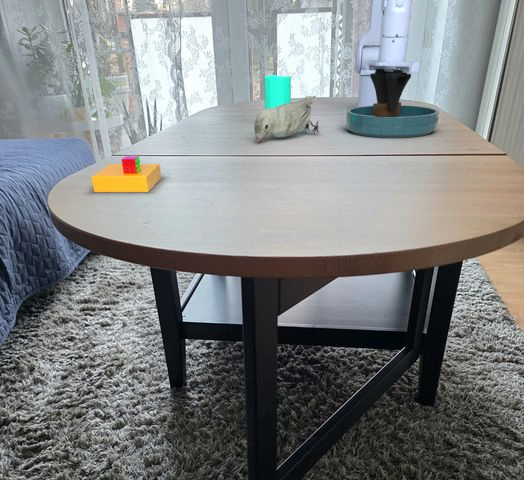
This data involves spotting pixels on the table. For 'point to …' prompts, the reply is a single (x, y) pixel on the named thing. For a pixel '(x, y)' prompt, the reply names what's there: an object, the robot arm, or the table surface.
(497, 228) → the table surface
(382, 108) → the brown block
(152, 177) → the yellow slab
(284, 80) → the candle
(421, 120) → the bowl
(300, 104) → the decorative bird
